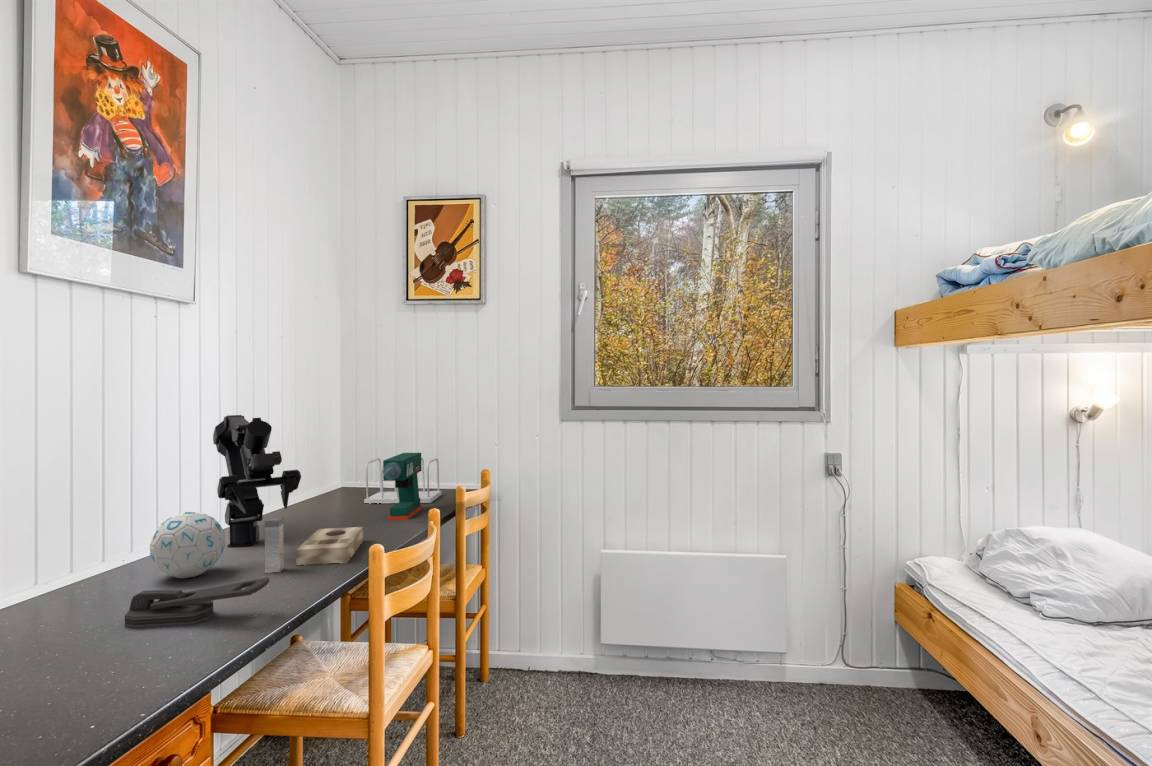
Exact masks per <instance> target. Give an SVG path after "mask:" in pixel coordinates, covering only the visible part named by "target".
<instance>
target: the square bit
mask: <svg viewBox="0 0 1152 766" xmlns="http://www.w3.org/2000/svg"><path fill="white" fill-rule="evenodd" d="M284 558H285V556H284V517H268V518H267V519H266V520H264V564H265V567H264V570H265V571H264V573H268V574H271V573H270V572H280V571H281V570H282V569H283V568H284V569H285V564H284V561H285V559H284ZM284 569H283V570H284ZM283 570H282V571H283ZM282 571H281V572H282ZM281 572H280V573H281Z"/></svg>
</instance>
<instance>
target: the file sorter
mask: <svg viewBox="0 0 1152 766" xmlns="http://www.w3.org/2000/svg"><path fill="white" fill-rule="evenodd" d="M376 461H378V462H379V464H378V465H379V489H380V490H379V491H378V492H377V493H374V494H372V495H371V496H369V479H368V478H369V477H368V476H369V475H368V473H369V472H368V471H369V470H368V469H369V467H368V466H369V464H370V463H374V462H376ZM435 461H436V472H437V473H436V477H437V478H436V480H437V490H430V474H429V473H430V470H429V469H430V468H429V467H430V463H433V462H435ZM439 464H440V462H439V459H438V457H437V458H433V459H430V460H429V461H428V462H427V464H426V478H427V479H426V480H427V486H425V483H426V482H425V466H424V465H425V462H424V458H423V457H421V468H422V488H423V490H419V498H420V504H431V503H433V502H434V501H435V500H437V499H438V498H439V497H441V496H442V495H443V494H442V490H440V472H439V471H440V466H439ZM365 486H366V487H365V489H366V493H365V494H366V497H365V498H364V499H363V502H364V503H369V504H368V505H372V504H371V503H377V504H376V505H378V504H379V503H381V504H397V503H399V493H398V488H395V487H394V491H384V481H383V462H382V461H381V459H380V458H379V457H378V458H374V459H372V460H369V461H367V462H366V464H365ZM426 487H427V488H426ZM425 488H426V489H427V490H426V489H425ZM364 503H363V504H364Z"/></svg>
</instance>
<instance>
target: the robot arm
mask: <svg viewBox="0 0 1152 766" xmlns="http://www.w3.org/2000/svg"><path fill="white" fill-rule="evenodd" d="M214 427H215V428H214V432H213V435H212V441H213V445H215V446H216V451H217V452H218V454H220V455H222V456H223V457H224V458H225V459H224V460H225V463H226V469H227V473H228V475H226V476H221V477H220V478H219V480H218V485H217V492H216V493H217V495H218V496H217V497H218V498H219V499H224V500H225V501H228V502H227V504H226V508H225V514H224V523H225V524H226V525H227V526H229V543H228V544H227V547H228V548H231V547H232V548H233V547H246V546H247V545H251V546H253V545H255V544H256V543H257V541H258V540H259V541H260V526H259V525H258V522H261V521H262V520H263V513H264V507H265V504H264V503H263V500H262V499H260V496H259V493H258V488H265V487H275V486H279V487H280V489H281V490H280V495H281V500H282V505H283V507H284V509H287V508H288V503H289V497H290V494H291V493H293V492H294V491H296V490H297V489H298V488H299V486H300V482H301V480H302V475H301V474H302V473H301V471H299V470H298V469H290V470H289V469H288V470H283V471H282V473H281V476H275V477H272V475H273V474H274V472H275V470H274V467H275V466H278V465H279V466H280V465H281V463H282V461H283V460H282V453H281V452H280V450H278V451H272V452H270V453H266V450H265V449H266V448H268V445H269V441H270V438H271V434H272V431H273V429H272V428H273V427H272V425H271V424H269V422H267V421H264V420H262V418H261V417H253V418H252V420H251V421H248V420H247V419H245V416H244V415H242V414H236V415H235V414H232V415H231V414H230V415H229V414H228V415H226V416H224V417H223V420H222V421H221V422H220V423H218V424H217V425H216V426H214ZM259 541H258V542H259ZM254 543H255V544H254ZM247 547H248V546H247Z"/></svg>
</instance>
